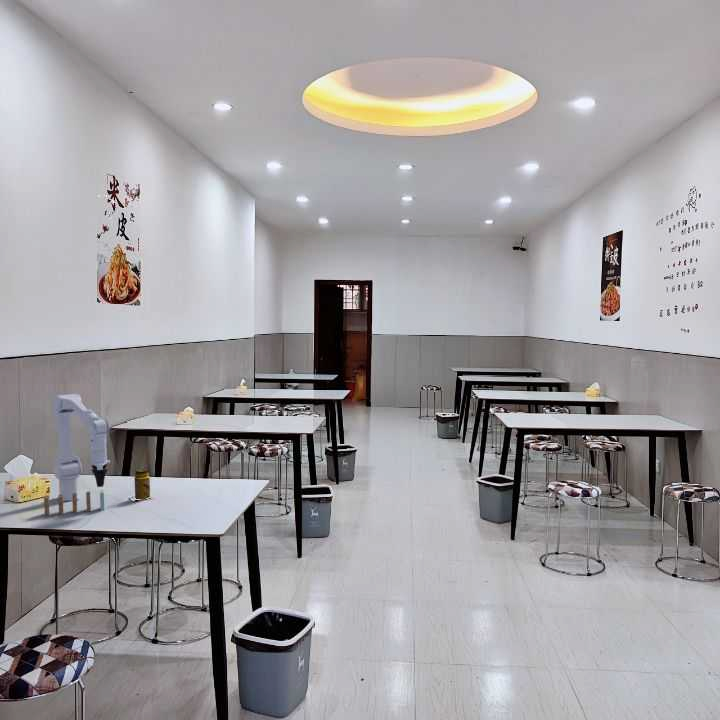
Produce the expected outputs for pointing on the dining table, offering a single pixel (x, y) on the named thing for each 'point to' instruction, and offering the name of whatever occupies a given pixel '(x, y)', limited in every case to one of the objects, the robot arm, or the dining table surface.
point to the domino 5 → (102, 499)
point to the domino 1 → (46, 505)
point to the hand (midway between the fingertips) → (100, 484)
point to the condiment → (142, 484)
